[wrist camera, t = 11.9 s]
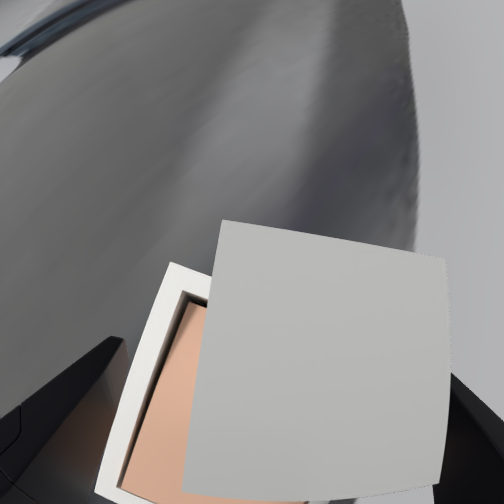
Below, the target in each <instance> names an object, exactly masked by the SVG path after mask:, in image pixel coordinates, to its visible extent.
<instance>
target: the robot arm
mask: <svg viewBox="0 0 504 504" xmlns="http://www.w3.org/2000/svg"><path fill="white" fill-rule="evenodd" d="M128 365H129V357H128V352H127V346H126V341H125V339H123V338H120V337H115V336H110V337H108V338H107V339H105V340H104V341H103V342H101V343H100V344H99V345H97V346H96V347H95V348H93V349H92V350H91V351H89V352H88V353H87V354H85V355H84V356H83V357H81V358H80V359H79V360H77V361H76V362H75V363H73V364H72V365H71V366H69V367H68V368H67V369H65V370H64V371H63V372H61V373H60V374H59V375H57V376H56V377H55V378H54V379H52V380H51V381H50V382H48V383H47V384H46V385H44V386H43V387H42V388H40V389H39V390H38V391H37V392H35V393H34V394H33V395H31V396H30V397H29V398H27V399H26V400H25V401H24V402H22V403H21V406H20V405H18V406H17V407H16V408H14V409H13V410H12V411H10V412H9V413H8V414H6V415H5V416H4V417H2V418H1V419H0V504H86V503H87V500H88V497H89V494H90V490H91V487H92V484H93V481H94V478H95V475H96V471H97V468H98V465H99V462H100V459H101V456H102V453H103V450H104V448H105V445H106V442H107V439H108V436H109V433H110V430H111V428H112V425H113V422H114V419H115V416H116V413H117V410H118V406H119V402H120V397H121V393H122V389H123V385H124V381H125V377H126V373H127V369H128ZM432 486H433V495H434V504H504V422H503V420H501V418H499V417H498V416H497V415H496V414H495V413H494V412H493V411H492V410H491V409H490V408H489V407H488V406H487V405H486V404H485V403H484V402H483V401H482V400H480V399H479V398H478V397H477V396H476V395H475V394H474V393H473V392H472V391H471V390H469V388H468V387H466V386H465V385H464V384H463V383H462V382H461V381H460V380H459V379H458V378H457V377H455V376H454V375H453V374H452V373H451V378H450V399H449V412H448V423H447V433H446V441H445V448H444V455H443V462H442V468H441V474H440V479H439V483H437V484H433V485H432Z"/></svg>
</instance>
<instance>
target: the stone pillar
mask: <svg viewBox="0 0 504 504" xmlns="http://www.w3.org/2000/svg"><path fill="white" fill-rule="evenodd" d="M450 378H451V328H450V307H449V293H448V282H447V272H446V263H445V259H443V258H438V257H433V256H428V255H423V254H418V253H413V252H407V251H402V250H397V249H392V248H386V247H381V246H375V245H370V244H365V243H359V242H353V241H348V240H342V239H337V238H331V237H325V236H319V235H314V234H308V233H302V232H296V231H290V230H284V229H278V228H272V227H266V226H259V225H253V224H247V223H240V222H234V221H228V220H222V224H221V229H220V235H219V240H218V246H217V251H216V257H215V263H214V268H213V274H212V280H211V286H210V292H209V298H208V304H207V310H206V316H205V322H204V328H203V335H202V341H201V348H200V354H199V361H198V367H197V374H196V381H195V388H194V395H193V402H192V410H191V417H190V425H189V432H188V440H187V448H186V456H185V464H184V473H183V482H182V491H181V492H185V493H191V494H198V495H205V496H213V497H221V498H231V499H242V500H257V501H324V500H339V499H351V498H360V497H368V496H376V495H383V494H389V493H395V492H400V491H406V490H411V489H416V488H420V487H425V486H429V485H433V484H437V483H439V479H440V474H441V468H442V462H443V455H444V448H445V441H446V433H447V423H448V412H449V399H450Z"/></svg>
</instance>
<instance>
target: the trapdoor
mask: <svg viewBox="0 0 504 504" xmlns="http://www.w3.org/2000/svg"><path fill="white" fill-rule="evenodd" d="M206 310H207V308H204V307H202V306H199V305H196V304H194V303H191V302H189V303H188V306H187V308H186V311H185V313H184V316H183V318H182V321H181V323H180V326H179V328H178V331H177V333H176V336H175V339H174V341H173V344H172V346H171V349H170V352H169V354H168V357H167V359H166V362H165V365H164V367H163V370H162V373H161V375H160V378H159V381H158V383H157V386H156V389H155V391H154V394H153V397H152V399H151V402H150V405H149V408H148V410H147V413H146V416H145V419H144V422H143V424H142V427H141V430H140V433H139V436H138V439H137V441H136V444H135V447H134V450H133V453H132V456H131V459H130V462H129V465H128V468H127V471H126V474H125V477H124V480H123V483H122V486H121V488H122V489H124V490H126V491H129V492H131V493H133V494H136V495H138V496H140V497H143V498H145V499H148V500H150V501H153V502H155V503H158V504H304V503H305V501H257V500H242V499H231V498H221V497H213V496H205V495H198V494H191V493H185V492H181V491H182V482H183V473H184V464H185V456H186V448H187V440H188V432H189V425H190V417H191V410H192V402H193V395H194V388H195V381H196V374H197V367H198V361H199V354H200V348H201V341H202V335H203V328H204V322H205V316H206Z"/></svg>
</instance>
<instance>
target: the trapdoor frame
mask: <svg viewBox="0 0 504 504" xmlns="http://www.w3.org/2000/svg"><path fill="white" fill-rule="evenodd" d="M211 280H212V277H210V276H207V275H205V274H202V273H199V272H196V271H194V270H191V269H188V268H185V267H183V266H180V265H177V264H175V263H172V262H170V264H169V267H168V269H167V272H166V274H165V277H164V279H163V282H162V284H161V287H160V289H159V292H158V295H157V297H156V300H155V302H154V305H153V308H152V310H151V313H150V316H149V318H148V321H147V324H146V326H145V329H144V332H143V335H142V337H141V340H140V343H139V346H138V349H137V351H136V354H135V357H134V360H133V363H132V366H131V369H130V372H129V375H128V378H127V381H126V384H125V387H124V390H123V393H122V396H121V399H120V402H119V406H118V410H117V413H116V416H115V419H114V422H113V425H112V429H111V432H110V435H109V439H108V442H107V446H106V449H105V453H104V457H103V460H102V464H101V468H100V471H99V475H98V479H97V483H96V487H95V491H94V492H95V493H97V494H99V495H101V496H103V497H105V498H107V499H109V500H111V501H114V502H116V503H118V504H158V503H155V502H153V501H150V500H148V499H145V498H143V497H140V496H138V495H136V494H133V493H131V492H129V491H126V490H124V489H122V488H121V486H122V483H123V480H124V477H125V474H126V471H127V468H128V465H129V462H130V459H131V456H132V453H133V450H134V447H135V444H136V441H137V439H138V436H139V433H140V430H141V427H142V424H143V422H144V419H145V416H146V413H147V410H148V408H149V405H150V402H151V399H152V397H153V394H154V391H155V389H156V386H157V383H158V381H159V378H160V375H161V373H162V370H163V367H164V365H165V362H166V359H167V357H168V354H169V352H170V349H171V346H172V344H173V341H174V339H175V336H176V333H177V331H178V328H179V326H180V323H181V321H182V318H183V316H184V313H185V311H186V308H187V306H188V303H189V302H191V303H192V302H196V303H199V304H201V305H204V306H207V304H208V298H209V292H210V286H211ZM329 501H330V500H324V501H305V503H304V504H328V503H329Z"/></svg>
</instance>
